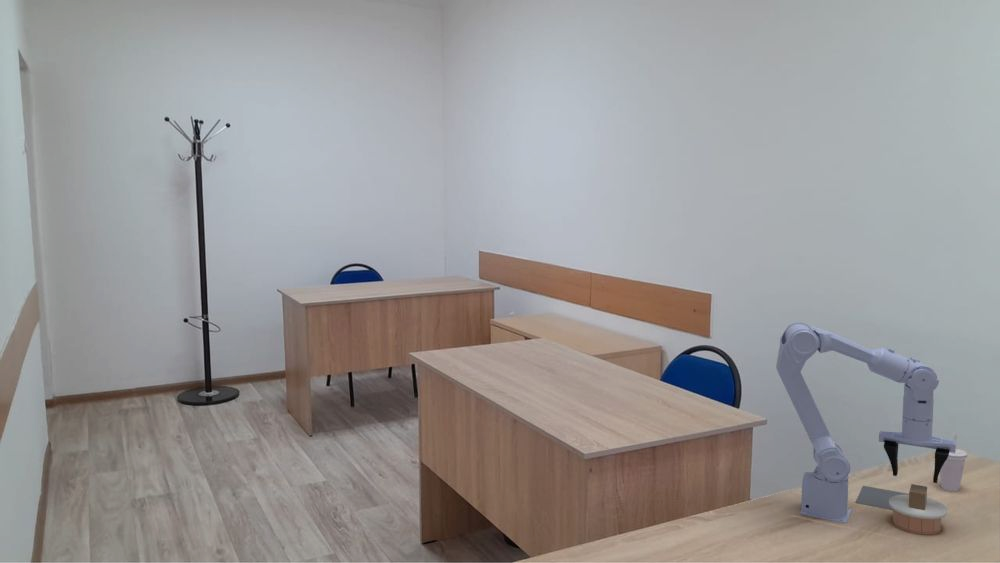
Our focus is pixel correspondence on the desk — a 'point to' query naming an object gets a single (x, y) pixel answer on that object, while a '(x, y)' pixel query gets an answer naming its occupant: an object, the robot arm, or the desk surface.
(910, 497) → the lid
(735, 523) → the desk surface
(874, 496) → the mat
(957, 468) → the smoothie
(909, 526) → the bowl
